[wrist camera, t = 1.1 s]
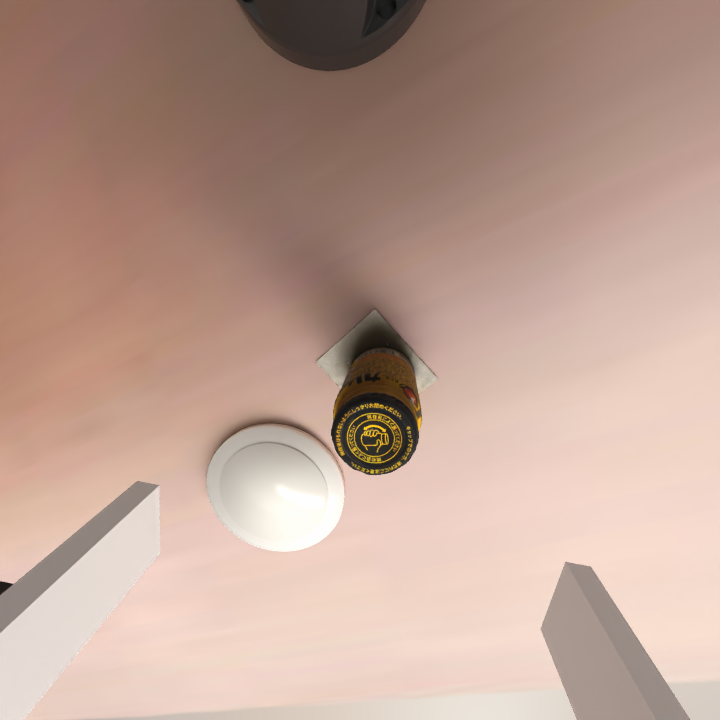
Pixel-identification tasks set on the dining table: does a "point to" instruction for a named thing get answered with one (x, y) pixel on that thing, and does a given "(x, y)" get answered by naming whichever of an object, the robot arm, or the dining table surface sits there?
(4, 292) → the dining table surface
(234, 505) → the plate
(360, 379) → the condiment
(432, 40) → the dining table surface
